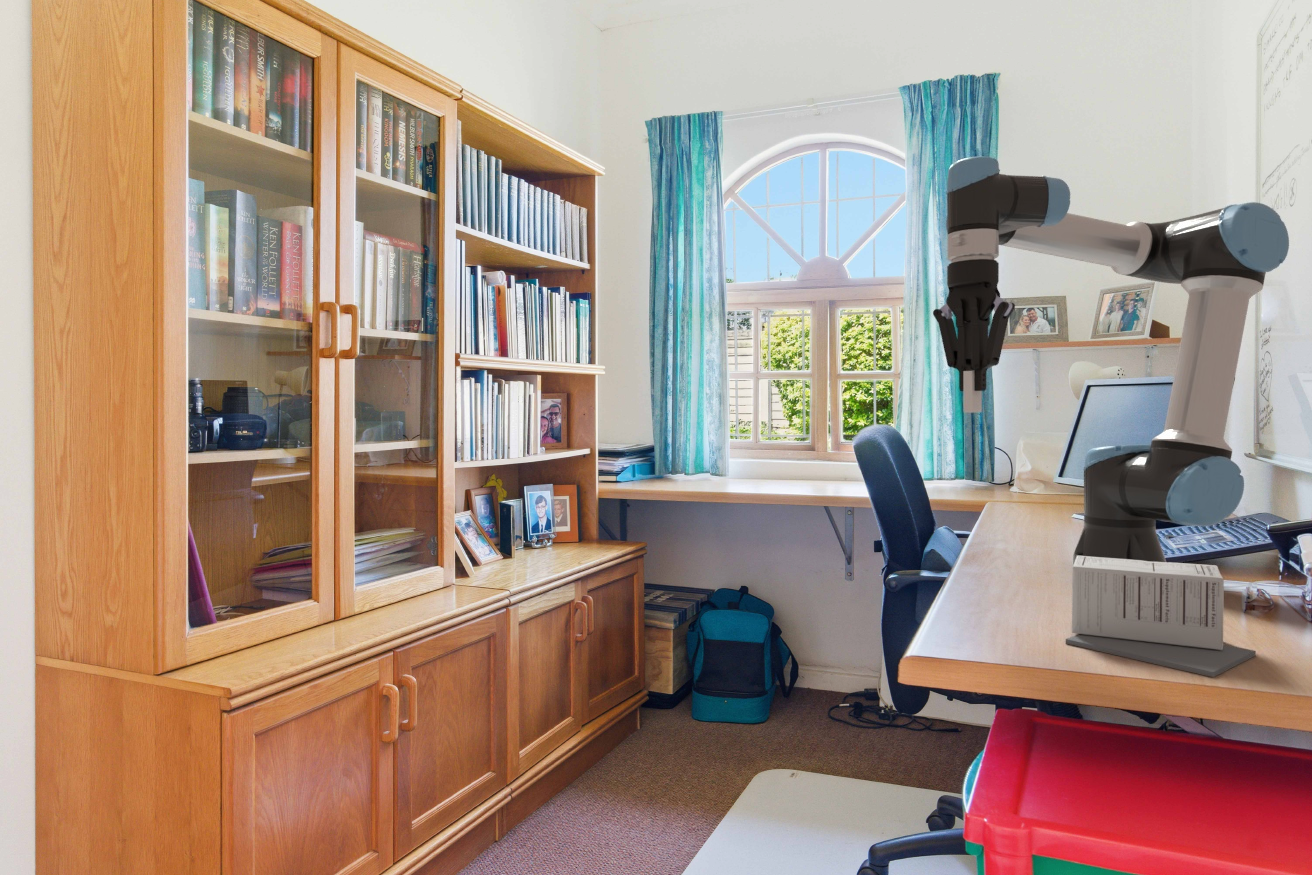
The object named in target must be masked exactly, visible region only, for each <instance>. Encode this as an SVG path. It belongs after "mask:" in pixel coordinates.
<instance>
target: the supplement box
mask: <svg viewBox="0 0 1312 875" xmlns="http://www.w3.org/2000/svg"><path fill="white" fill-rule="evenodd" d="M1071 578H1072V579H1071V581H1072V582H1071V591H1072V592H1071V593H1072V594H1071V633H1072V634H1075V635H1078V634H1084V635H1093V636H1101V637H1110V638H1119V639H1128V640H1137V641H1146V642H1155V643H1164V644H1172V645H1181V646H1190V647H1198V648H1207V649H1216V650H1222V649H1223V644H1224V602H1225V601H1224V596H1225V595H1224V594H1225V592H1224V591H1225V590H1224V589H1225V587H1224V583H1225V582H1224V577H1223V576H1222V574H1221V572H1220V569H1219V567H1218V565H1214V564H1213V565H1212V564H1200V563H1198V564H1197V563H1186V562H1184V563H1183V562H1170V561H1169V562H1167V561H1166V562H1150V561H1142V560H1130V559H1117V558H1103V557H1090V556H1077V557H1076V560H1075V562H1074V565H1073V564H1072V577H1071Z"/></svg>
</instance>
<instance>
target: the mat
mask: <svg viewBox="0 0 1312 875" xmlns="http://www.w3.org/2000/svg"><path fill="white" fill-rule="evenodd" d="M1065 644H1067V645H1070V646H1075V647H1079V648H1083V649H1088V650H1092V651H1097V652H1102V653H1105V654H1110V655H1115V656H1119V657H1122V658H1128V659H1132V660H1137V661H1140V662H1145V663H1148V664H1149V663H1150V664H1154V665H1158V666H1163V667H1165V668H1172V669H1176V670H1180V671H1185V672H1189V673H1193V674H1198V675H1201V676H1205V677H1210V678H1215V677H1217V676H1219V675H1221V674H1223V673H1225V672H1226V671H1228V670H1230V669H1232V668H1235V667H1237V666H1239V665H1240V664H1242V663H1244V662H1246V661H1248V660H1250V659H1252V658H1254V657H1256V650H1254V649H1248V648H1243V647H1237V646H1235V645H1234V646H1233V645H1228V644H1224V643H1223V649H1222V650H1216V649H1207V648H1198V647H1190V646H1181V645H1172V644H1164V643H1155V642H1146V641H1137V640H1128V639H1119V638H1110V637H1101V636H1093V635H1084V634H1075V635H1073V636H1070V637H1067V638H1065Z"/></svg>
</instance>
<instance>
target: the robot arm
mask: <svg viewBox="0 0 1312 875" xmlns="http://www.w3.org/2000/svg"><path fill="white" fill-rule="evenodd" d="M1000 171H1001V169H1000V164H999V161H998V159H996V158H995V157H994V158H993V157H991V156H970V157H967V158H966V157H965V158H963V159H960V160H956V161H955V162H953V163H952V164H951V165H950V167H949V168H948V170H947V180H946V190H945V191H946V192H945V194H946V210H947V211H946V219H945V230H946V232H947V239H946V240H947V243H946V244H947V246H946V248H947V250H946V251H947V252H946V253H947V258H946V259H947V261H948V262H950V263H949V264H948V265H947V267H946V268H947V269H946V272H947V273H946V276H947V278H946V283H947V284H946V285H947V287H948V295H947V296H946V300H945V302H946V303H944V305H942V306H941V307H940V308H935V309H933V311H932V314H933V315H932V316H933V317H934V318H935V320H936V322H937V323H938V327H939V332H940V336H941V341H942V345H943V346H942V347H943V349H944V350H943V351H944V356H945V359H946V360H945V361H946V364H947V366H948V368H953V369H956V370H958V385H959V386H958V389H959V391H960V392H962V394H963V399H962V400H963V401H962V402H963V413H965V414H967V413H968V414H969V413H970V414H972V413H976V414H977V413H983V410H982V408H983V402H982V401H983V397H982V396H983V392H985V391H986V389H987V371H988V369H990V368H992V367H995V366H998V364H999V363H1000V358H1001V355H1002V348H1003V345H1004V340H1005V337H1006V332H1007V327H1008V323H1009V318H1010V317H1011V315H1012V314H1013V312H1014V310H1015V308H1016V305H1015V302H1012V301H1011V302H1009V301H1007V300H1006V299H1003V298H1002V297H1001V293H1000V291H999V289H998V284H999V281H1000V280H999V277H1000V276H999V274H1000V273H999V272H1000V271H999V269H1000V268H999V267H1000V266H999V262H998V260H996V259H997V258H998V257H999V256H1000V255H999V254H1000V252H999V251H1000V248H999V246H1004V247H1009V248H1014V249H1018V250H1023V251H1029V252H1034V253H1039V254H1043V255H1047V256H1054V257H1059V258H1065V259H1070V260H1075V261H1080V262H1085V263H1089V264H1090V263H1091V264H1095V265H1100V266H1106V267H1111V269H1112V271H1113V272H1114V273H1115V274H1119V275H1122V276H1125V277H1126V276H1127V277H1132V278H1135V279H1141V280H1147V281H1153V282H1158V283H1165V284H1177V285H1179V284H1180V286H1181V288H1183V290H1184V291H1185V292H1186V293H1187V294H1188V301H1187V304H1186V306H1187V307H1186V310H1185V317H1184V322H1183V327H1182V332H1181V337H1180V341H1179V342H1180V344H1179V348H1178V349H1179V350H1178V353H1177V359H1176V366H1175V369H1174V376H1173V381H1172V386H1171V390H1170V391H1171V392H1170V396H1169V402H1168V408H1167V413H1166V418H1165V423H1164V424H1165V425H1164V428H1163V431H1162V432H1161V433H1160V434H1158V435H1156V436H1154V437H1153V438H1152V439H1151V443H1149V444H1148V443H1145V444H1144V443H1140V444H1137V443H1136V444H1122V445H1107V446H1098V447H1093V448H1090V449H1089V450H1088V451H1087V452H1086V453H1085V455H1084V456H1085V459H1084V467H1083V528H1082V531H1081V533H1080V537H1079V539H1078V541H1077V544H1076V547H1075V549H1074V552H1073V556H1072V557H1073V558H1072V566H1073V565H1074V562H1075V560H1076V557H1077V556H1090V557H1103V558H1117V559H1130V560H1142V561H1150V562H1167V560H1166V557H1165V554H1164V550H1163V549H1162V545H1161V541H1160V539H1159V537H1158V534H1157V529H1156V527H1157V526H1156V523H1157V522H1156V521H1161V522H1169V523H1173V524H1176V525H1179V526H1180V525H1182V526H1185V527H1186V526H1187V527H1190V526H1197V527H1210V526H1214V525H1218V524H1219V523H1221V522H1223V521H1224V520H1225V519H1226V518H1229V517H1230V516H1231V515H1232V514H1233V513H1234V512H1235V511H1236V510H1237V508H1238V506H1239V505H1240V502H1241V500H1242V498H1243V494H1244V492H1245V491H1244V490H1245V489H1244V488H1245V479H1244V476H1243V475H1241V473H1242V470H1241V467H1239V465H1238V464H1237V463H1236V462H1234V461H1233V460H1232V455H1233V448H1231V446H1230V445H1229V444H1228V443H1227V442H1226V441H1225V432H1226V427H1227V423H1228V422H1227V421H1228V417H1229V411H1230V405H1231V400H1232V394H1233V389H1234V384H1235V378H1236V373H1237V367H1238V363H1239V362H1238V361H1239V357H1240V351H1241V346H1242V340H1243V335H1244V331H1245V325H1246V320H1247V316H1248V315H1247V314H1248V313H1247V312H1248V309H1249V304H1250V299H1251V298H1252V297H1253V296H1255V295H1256V294H1259V292H1261V291H1262V290H1263V288H1264V283H1265V278H1266V274H1267V273H1270V272H1272V271H1274V270H1275V269H1277V268H1279V266H1280V265H1281V264H1283V263H1284V261H1285V260H1286V258H1287V256H1288V252H1289V248H1290V238H1289V237H1290V236H1289V232H1288V229H1287V227H1286V224H1285V222H1284V221H1283V220H1282V217H1281V216H1280V215H1279V213H1278V212H1277V211H1276V210H1275V209H1273V208H1271V207H1270V206H1268V205H1266V204H1264V203H1260V202H1256V201H1255V202H1253V201H1252V202H1246V203H1244V202H1243V203H1241V204H1230V205H1227V206H1225V207H1222V208H1218V209H1216V210H1211V211H1208V212H1207V211H1206V212H1203V213H1200V214H1196V215H1190V216H1187V217H1182V218H1178V219H1175V220H1170V221H1163V222H1155V223H1154V222H1153V223H1149V222H1142V221H1131V222H1129V223H1126V224H1123V223H1118V222H1113V221H1109V220H1105V219H1104V220H1103V219H1098V218H1094V217H1087V216H1083V215H1079V214H1075V213H1069V209H1070V205H1071V191H1070V190H1071V189H1070V187H1069V185H1068V184H1067V183H1066V181H1064V180H1063V179H1061V178H1057V177H1051V176H1046V175H1041V176H1036V175H1035V176H1034V175H1015V174H1014V175H1010V174H1005V173H1004V174H1003V173H1001V172H1000ZM992 312H994V314H993V316H992V319H991V320H990V317H991V315H992ZM953 317H955V321H954V320H953ZM990 322H991V323H990ZM989 327H990V329H989ZM956 328H957V331H956Z"/></svg>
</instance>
